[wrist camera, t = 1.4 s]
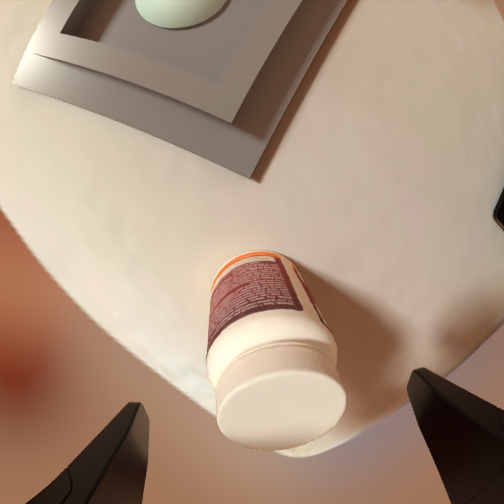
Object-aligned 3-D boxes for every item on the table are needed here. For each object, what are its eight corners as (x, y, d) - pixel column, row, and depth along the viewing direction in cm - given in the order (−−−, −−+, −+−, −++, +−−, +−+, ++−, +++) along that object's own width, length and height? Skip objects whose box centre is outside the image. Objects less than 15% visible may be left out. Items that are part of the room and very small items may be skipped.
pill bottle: (195, 307, 16) (179, 437, 8) (239, 231, 15) (255, 335, 7) (272, 340, 17) (299, 465, 9) (319, 273, 16) (388, 384, 8)
